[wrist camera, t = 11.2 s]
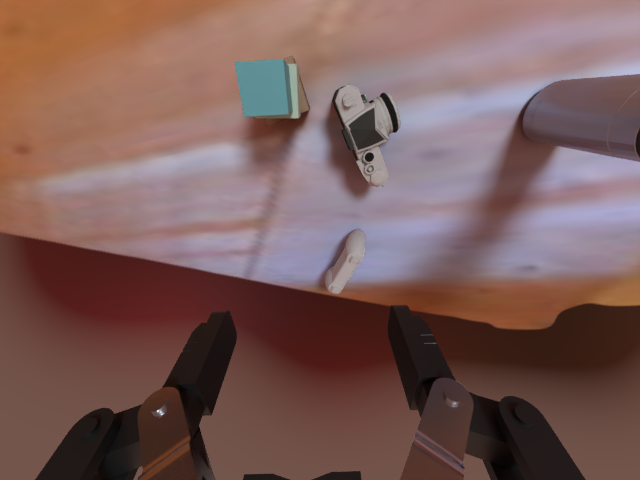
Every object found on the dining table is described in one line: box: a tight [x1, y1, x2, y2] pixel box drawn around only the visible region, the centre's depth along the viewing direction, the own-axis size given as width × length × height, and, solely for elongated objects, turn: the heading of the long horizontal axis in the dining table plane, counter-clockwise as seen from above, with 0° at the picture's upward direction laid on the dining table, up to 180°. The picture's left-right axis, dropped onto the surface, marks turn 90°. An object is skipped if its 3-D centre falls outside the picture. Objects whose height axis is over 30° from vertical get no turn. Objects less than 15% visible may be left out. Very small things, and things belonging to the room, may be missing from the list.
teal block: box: [235, 59, 293, 117], centre depth 29 cm, size 5×5×6 cm
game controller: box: [325, 229, 366, 294], centre depth 51 cm, size 14×4×10 cm, turn 155°
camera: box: [332, 84, 400, 187], centre depth 39 cm, size 16×9×10 cm, turn 26°
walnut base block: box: [264, 56, 310, 126], centre depth 38 cm, size 7×7×5 cm
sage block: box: [254, 64, 301, 118], centre depth 34 cm, size 6×6×5 cm
